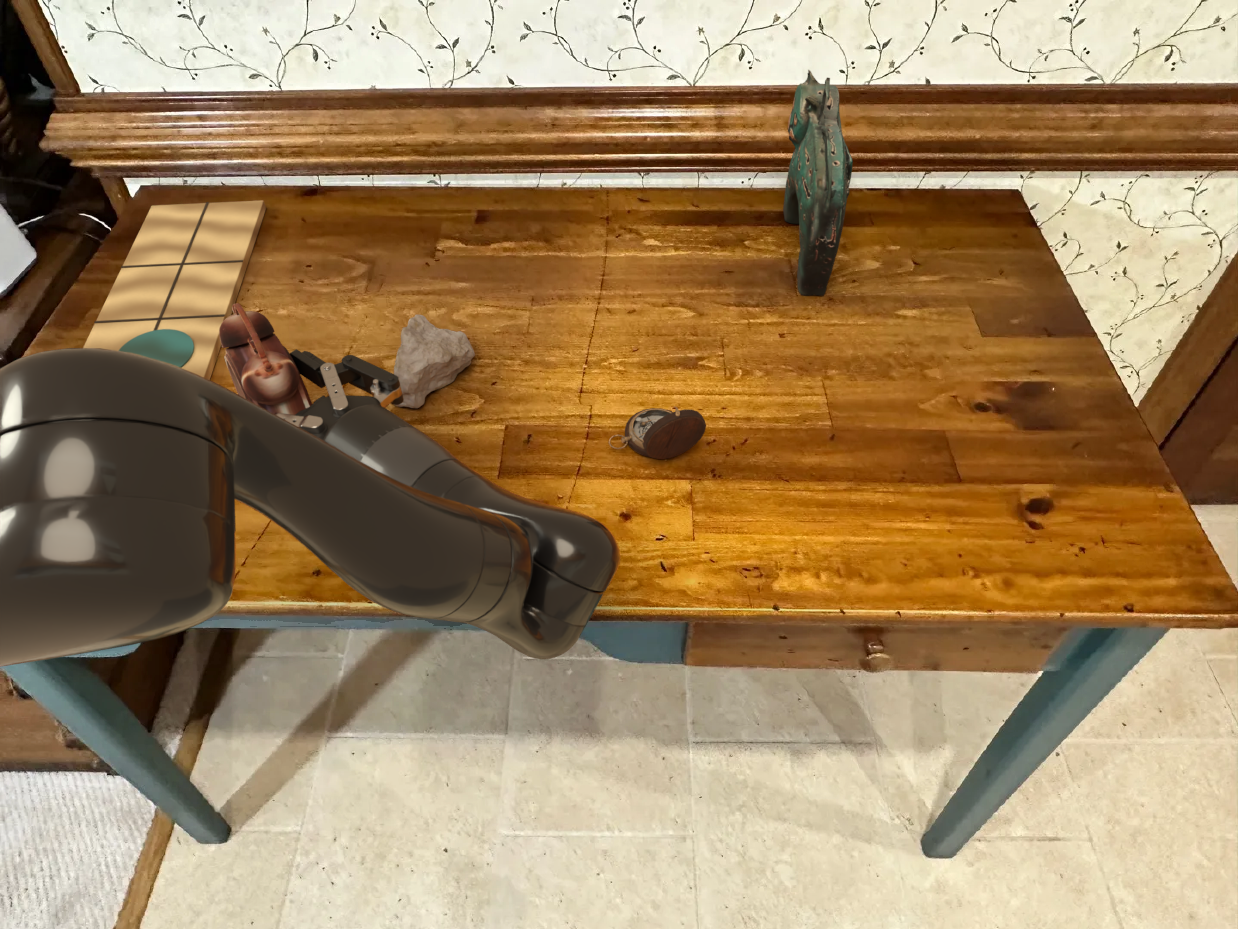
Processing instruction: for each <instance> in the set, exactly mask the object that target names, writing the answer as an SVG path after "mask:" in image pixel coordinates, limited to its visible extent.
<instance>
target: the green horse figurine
mask: <svg viewBox="0 0 1238 929" xmlns="http://www.w3.org/2000/svg"><path fill="white" fill-rule="evenodd" d="M841 120H842V119H841V112H840V93H839V88H838V87H837V86H836V85H834V84H831V77H826V78H825V80H824V83H820V82H819V81H818V80H817V79H816V77H815V76H814V74H813V73H812V71H811V70H810V69H807V77H806V79H805V81H804V82H801V83H799V84H798V85H797V87H796V89H795V92H794V97H793V102H792V108H791V112H790V114H789V117H788V121H787V132H788V140H789V141H790V142H791V143H792V145H793V147H794V150H793V152H792V155H791V158H790V162H789V165H788V170H787V171H788V172H787V177H786V181H785V188H784V198H783V208H782V211H783V218H784V222H786V223H788V224H791V225H799V226H798V236H799V237H798V238H799V252H798V260H797V261H798V262H797V264H798V265H797V272H796V280H797V281H796V282H797V291H798V293H799V294H800V295H801V296H822V297H823V296H824V295H825V294H826V291H827V288H828V283H829V281H830V278H831V275H832V273H833V269H834V264H835V260H836V257H837V254H838V251H839V247H840V243H841V238H842V233H843V230H844V229H843V228H844V222H845V215H846V210H847V203H848V198H849V196H850V185H851V180H852V171H853V164H854V161H853V158H852V155H851V153H850V150H849V147H848V146H847V144H846V141H845V138H844V135H843V129H842V121H841Z"/></svg>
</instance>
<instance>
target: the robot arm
mask: <svg viewBox="0 0 1238 929" xmlns="http://www.w3.org/2000/svg"><path fill="white" fill-rule="evenodd" d="M289 353H290V355H291V357H292V359H293V361H294V363H295V365H296V367H297V369H298V371H299V373H300V375H301V377H304V378H305V379H306V380H308V381H310V382H311V383H312V384H314V385H315V386H317V387H319V388H320V389H324V387H326V390H327V393H328V396H325V395H322V396H320V397H319V398H317V399H316V400H315V401H314V402H312V405H311V406H310V407H308V408H306V409H304V410H302V411H300V412H298V413H297V414H295V415H291V414H284V413H275V414H273V413H271V412H269V411H268V410H266V409H264V408H262V407H260V406H258V405H257V404H255V403H253V402H251V401H249V400H247V399H245V398H244V397H242V396H240V395H238V393H236V392H234V391H232V390H230V389H229V388H226V387H225V386H222V385H221V384H219V383H217V382H214V381H212V380H211V379H210V380H208V379H206V378H204V377H201V376H199V375H197V374H195V373H193V372H190V371H188V370H185V369H183V368H180V367H178V366H175V365H172V364H169V363H166V362H163V361H159V360H156V359H153V358H149V357H146V356H142V355H138V354H134V353H129V352H122V351H116V350H109V349H101V348H83V347H69V348H68V347H67V348H60V349H51V350H44V351H41V352H36V353H33V354H29V355H27V356H23V357H19V358H17V359H16V360H13V361H12V362H10V363H8V364H6V365H4V366H2V367H0V668H1V667H8V666H13V665H20V664H26V663H33V662H39V661H45V660H46V661H47V660H51V659H58V658H64V657H70V656H77V655H83V654H88V653H93V652H94V653H95V652H99V651H106V650H111V649H116V648H123V647H129V646H133V645H137V644H142V643H146V642H151V641H155V640H159V639H162V638H166V637H169V636H172V635H176V634H178V633H181V632H184V631H186V630H189V629H191V628H195V626H196V627H197V626H198V625H201V624H203V623H205V622H206V621H209V620H210V619H212V618H213V617H215V616H216V615H217V614H219V613H220V612H221V611H222V610H223V609H224V608H225V607H226V606H227V604H228V603H229V601H230V599H231V597H232V594H233V591H234V586H235V581H236V580H235V579H236V571H237V570H236V569H237V567H236V566H237V564H236V563H237V541H236V540H237V539H236V530H237V528H236V501H237V502H239V503H241V504H243V505H245V506H247V507H248V508H250V509H252V510H254V511H255V512H258V513H259V514H260V515H262V516H264V517H266V518H267V519H268V520H269V521H271V522H272V523H274V524H275V525H277V526H278V527H279V528H281V529H283V530H284V531H286V532H287V533H288V534H289V535H290V536H291V537H293V538H294V539H295V540H296V541H298V542H299V543H300V544H301V545H302V546H304V547H305V548H306V549H307V550H308V551H310V552H311V553H312V555H314V556H315V557H316V558H317V559H318V560H320V561H321V562H322V563H323V564H324V565H325V566H326V567H327V568H328V569H329V570H331V571H332V572H333V573H334V574H335V575H337V577H339V579H341V580H342V581H343V582H345V583H346V585H347V586H349V587H350V588H352V590H354V591H356V592H357V593H359V594H360V595H362V596H363V597H365V598H366V599H368V600H369V601H371V602H373V603H375V604H376V605H378V606H380V607H382V608H384V609H386V610H389V611H392V612H394V613H397V614H401V615H405V616H409V617H414V618H421V619H430V620H436V621H437V620H438V621H447V622H455V623H463V624H467V625H470V626H473V627H476V628H478V629H481V630H483V631H485V632H487V633H489V634H491V635H493V636H495V637H496V638H498V639H499V640H500V641H502V642H504V643H505V644H506V645H507V646H509V647H511V648H512V649H514V650H516V651H517V652H519V653H521V654H523V655H525V656H526V657H529V658H532V659H536V660H551V659H554V658H558V657H560V656H562V655H563V654H565V653H566V652H568V651H570V650H571V649H572V648H573V647H574V645H575V644H576V643H577V642H578V640H580V637H581V635H582V634H583V633H584V630H585V629H586V627H587V625H588V623H589V621H590V619H591V618H592V616H593V614H594V612H595V610H596V608H597V607H598V605H599V604H600V602H601V601H602V598H603V597H604V594H605V593H606V591H607V590H608V588H609V586H610V584H611V583H612V581H613V579H614V577H615V576H616V574H617V572H618V569H619V567H620V564H621V556H622V554H621V549H620V545H619V543H618V541H617V539H616V537H615V536H614V534H613V533H612V532H611V530H610V529H609V527H607V526H606V525H605V524H604V523H603V522H601V521H600V520H598V519H597V518H595V517H592V516H591V515H588V514H585V513H582V512H579V511H576V510H572V509H568V508H565V507H561V506H557V505H553V504H548V503H545V502H541V501H537V500H534V499H530V498H528V497H526V496H525V497H524V496H522V495H519V494H517V493H514V492H512V491H510V490H508V489H506V488H503V487H502V486H500V485H498V484H496V483H495V482H493V481H491V480H490V479H489V478H486V477H485V476H483V475H482V474H481V473H479V472H478V471H476V470H474V469H473V468H471V467H470V466H468V465H467V464H465V463H464V462H462V461H461V460H459V459H458V458H457V457H455V455H454V454H452V452H450V451H449V450H448V449H447V448H446V447H444V446H443V445H442V444H441V443H439V442H438V441H436V440H435V439H433V438H432V437H430V436H429V435H427V434H425V433H424V432H423V431H421V430H419V429H418V428H416V427H415V426H413V425H412V424H410V423H409V422H407V421H405V420H404V419H403V418H401V417H399V416H398V415H397V414H395V413H393V412H392V411H390V410H389V409H387V407H388V406H390V405H393V406H395V405H399V404H401V403H402V402H403V400H404V398H403V394H402V390H401V386H400V383H399V379H398V376H396V375H394V373H392V372H390V371H388V370H385V369H384V368H381V367H379V366H377V365H375V364H372V363H371V362H368V361H367V360H364V359H362V358H361V357H358V356H355V355H353V354H346V355H344V356H343V357H342V358H341V361H340V362H338V363H335V364H334V363H332V362H326V361H324V360H323V359H321V358H320V357H318V356H317V355H315V354H313V353H312V352H311V351H306V350H303V351H300V350H299V349H297V348H296V349H294V350H293V351H291V352H289ZM346 384H350V386H353V387H355V388H358V389H359V390H362V391H363V392H366V393H368V394H370V395H353V394H352V395H350V394H349V395H348V394H345V390H344V387H343V386H344V385H346Z"/></svg>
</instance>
